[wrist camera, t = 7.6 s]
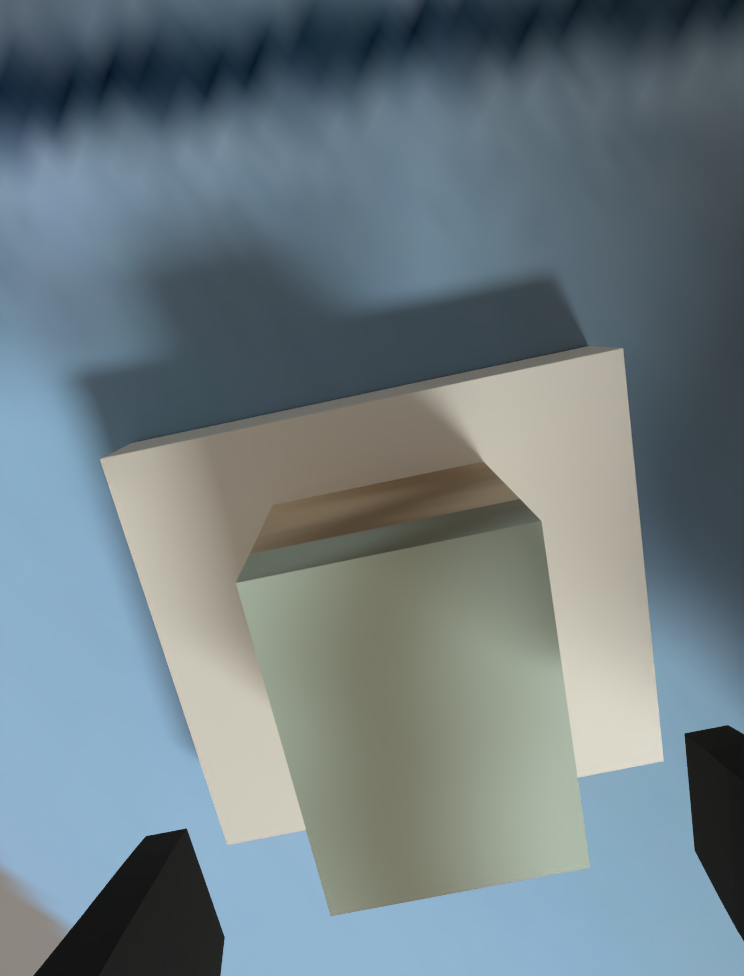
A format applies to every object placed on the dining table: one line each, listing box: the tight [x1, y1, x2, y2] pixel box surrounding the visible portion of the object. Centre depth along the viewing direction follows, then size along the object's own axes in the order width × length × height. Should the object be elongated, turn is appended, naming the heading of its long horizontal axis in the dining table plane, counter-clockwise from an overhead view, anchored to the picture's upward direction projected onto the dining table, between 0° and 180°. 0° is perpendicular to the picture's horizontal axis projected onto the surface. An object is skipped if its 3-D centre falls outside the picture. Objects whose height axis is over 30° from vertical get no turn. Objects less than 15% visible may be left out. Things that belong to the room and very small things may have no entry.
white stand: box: [100, 346, 663, 845], centre depth 16 cm, size 12×11×2 cm
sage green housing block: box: [236, 462, 590, 916], centre depth 13 cm, size 5×7×4 cm
